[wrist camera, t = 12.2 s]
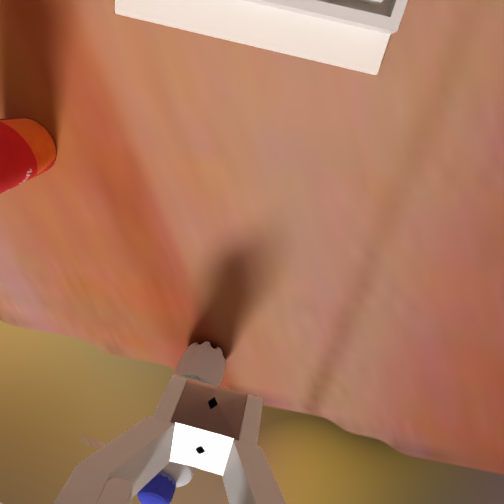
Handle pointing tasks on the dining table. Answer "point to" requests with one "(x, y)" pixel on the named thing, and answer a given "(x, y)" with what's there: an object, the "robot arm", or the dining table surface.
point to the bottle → (198, 368)
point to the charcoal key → (370, 2)
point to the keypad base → (285, 25)
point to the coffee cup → (23, 151)
